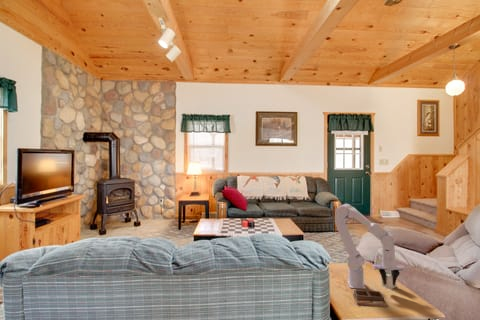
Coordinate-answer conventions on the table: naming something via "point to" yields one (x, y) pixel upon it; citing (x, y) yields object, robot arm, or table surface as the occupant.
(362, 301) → the socket board
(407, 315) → the table surface
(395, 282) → the skincare box
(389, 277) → the plug
